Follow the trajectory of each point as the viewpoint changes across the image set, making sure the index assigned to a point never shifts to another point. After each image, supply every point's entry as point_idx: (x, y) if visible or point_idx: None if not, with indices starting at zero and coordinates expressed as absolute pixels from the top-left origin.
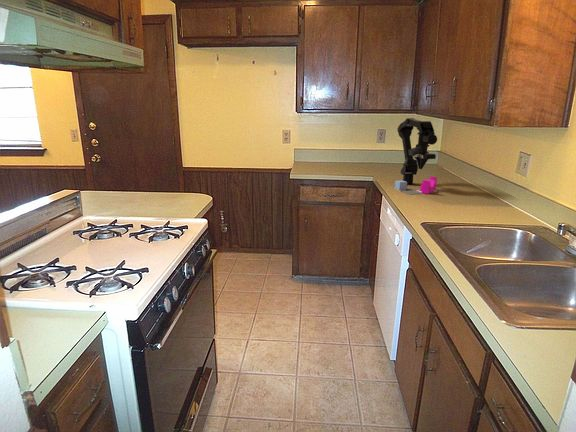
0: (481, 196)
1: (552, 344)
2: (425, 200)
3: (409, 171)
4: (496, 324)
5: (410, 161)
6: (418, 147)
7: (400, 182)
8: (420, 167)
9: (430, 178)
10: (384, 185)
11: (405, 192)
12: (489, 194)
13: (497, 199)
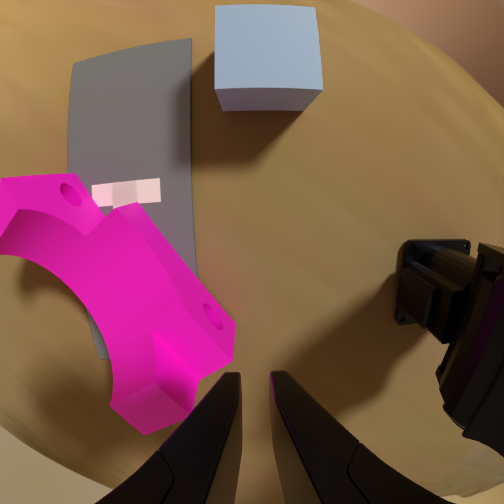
0: (34, 427)
1: None
2: None
3: (472, 301)
4: None
5: None
6: None
7: (216, 11)
8: (213, 391)
9: (147, 376)
10: (428, 59)
11: (126, 52)
12: (73, 470)
13: (6, 427)
